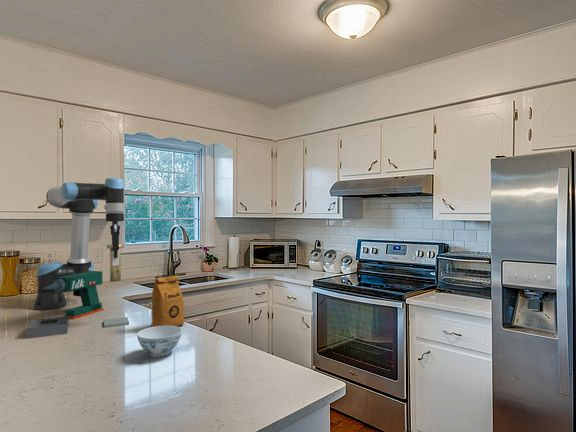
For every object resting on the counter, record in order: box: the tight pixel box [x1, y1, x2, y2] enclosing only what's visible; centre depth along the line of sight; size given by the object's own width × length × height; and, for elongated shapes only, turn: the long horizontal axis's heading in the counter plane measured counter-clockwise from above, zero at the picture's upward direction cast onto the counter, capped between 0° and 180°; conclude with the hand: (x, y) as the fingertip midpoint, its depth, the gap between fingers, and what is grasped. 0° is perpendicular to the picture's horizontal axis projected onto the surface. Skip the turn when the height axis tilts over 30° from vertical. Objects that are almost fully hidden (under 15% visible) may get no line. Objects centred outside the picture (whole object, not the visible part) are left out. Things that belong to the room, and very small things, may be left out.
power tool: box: [43, 270, 104, 320], centre depth 189 cm, size 32×7×20 cm, turn 162°
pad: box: [103, 316, 130, 329], centre depth 178 cm, size 10×10×1 cm
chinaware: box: [136, 326, 183, 358], centre depth 139 cm, size 15×15×8 cm
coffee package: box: [151, 275, 185, 327], centre depth 172 cm, size 10×12×22 cm
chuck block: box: [26, 315, 70, 339], centre depth 167 cm, size 14×14×4 cm
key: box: [106, 243, 125, 283], centre depth 178 cm, size 4×7×16 cm, turn 116°
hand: (115, 264), depth 178 cm, fingers closed on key, 4 cm apart
